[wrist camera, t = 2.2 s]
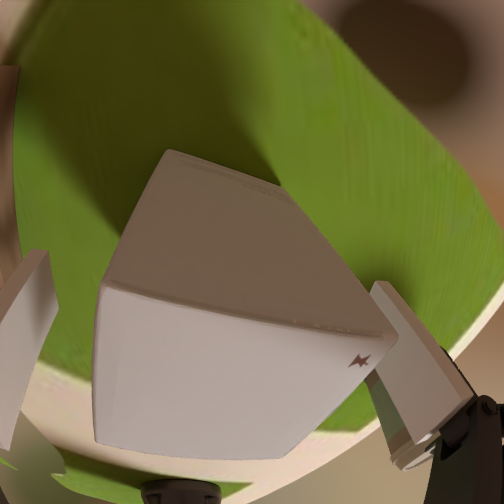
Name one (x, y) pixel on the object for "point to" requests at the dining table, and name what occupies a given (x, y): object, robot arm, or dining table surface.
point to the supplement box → (225, 321)
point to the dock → (7, 176)
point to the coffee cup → (397, 428)
